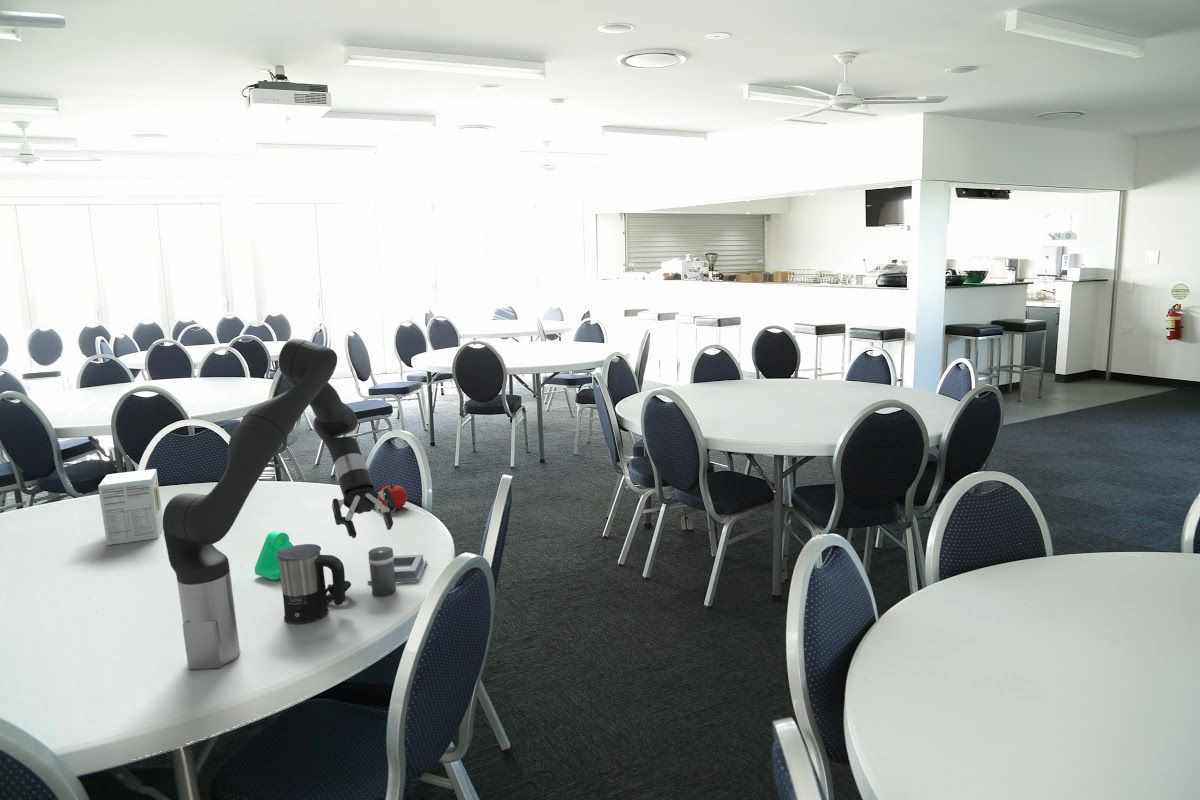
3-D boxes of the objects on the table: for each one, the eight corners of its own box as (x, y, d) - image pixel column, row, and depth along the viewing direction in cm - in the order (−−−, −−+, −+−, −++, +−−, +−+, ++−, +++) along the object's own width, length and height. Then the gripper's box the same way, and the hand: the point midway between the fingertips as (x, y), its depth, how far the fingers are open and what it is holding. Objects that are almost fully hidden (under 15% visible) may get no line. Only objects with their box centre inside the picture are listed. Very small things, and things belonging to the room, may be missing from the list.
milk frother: (280, 627, 172) (273, 561, 170) (288, 597, 187) (281, 536, 185) (350, 617, 176) (344, 552, 173) (353, 589, 191) (347, 529, 188)
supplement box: (159, 538, 231) (151, 479, 228) (106, 546, 227) (97, 485, 223) (165, 524, 243) (157, 468, 240) (114, 531, 239) (106, 474, 235)
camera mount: (275, 584, 196) (270, 543, 194) (255, 578, 200) (250, 538, 198) (316, 567, 206) (312, 528, 204) (297, 561, 210) (293, 523, 208)
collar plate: (418, 581, 194) (417, 571, 193) (367, 584, 193) (366, 574, 193) (427, 562, 205) (426, 553, 205) (379, 565, 205) (378, 555, 205)
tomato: (378, 506, 253) (375, 481, 251) (407, 503, 255) (405, 478, 254) (379, 515, 245) (377, 489, 243) (409, 511, 247) (407, 486, 246)
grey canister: (393, 596, 186) (390, 554, 184) (369, 597, 186) (365, 556, 184) (398, 586, 191) (395, 546, 189) (375, 587, 191) (371, 547, 189)
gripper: (379, 478, 208) (398, 533, 200) (322, 489, 200) (340, 546, 193) (383, 462, 202) (403, 517, 195) (325, 473, 195) (344, 531, 187)
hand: (372, 532), depth 194 cm, fingers open, 8 cm apart
